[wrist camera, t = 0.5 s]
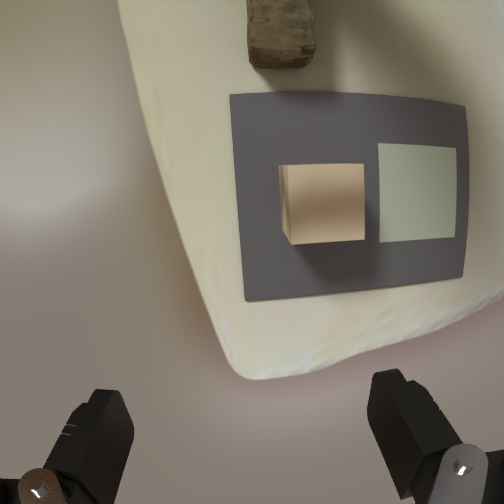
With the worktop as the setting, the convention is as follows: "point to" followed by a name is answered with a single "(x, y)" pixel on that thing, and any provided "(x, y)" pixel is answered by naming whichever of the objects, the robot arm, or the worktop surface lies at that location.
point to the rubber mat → (375, 186)
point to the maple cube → (322, 202)
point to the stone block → (280, 33)
